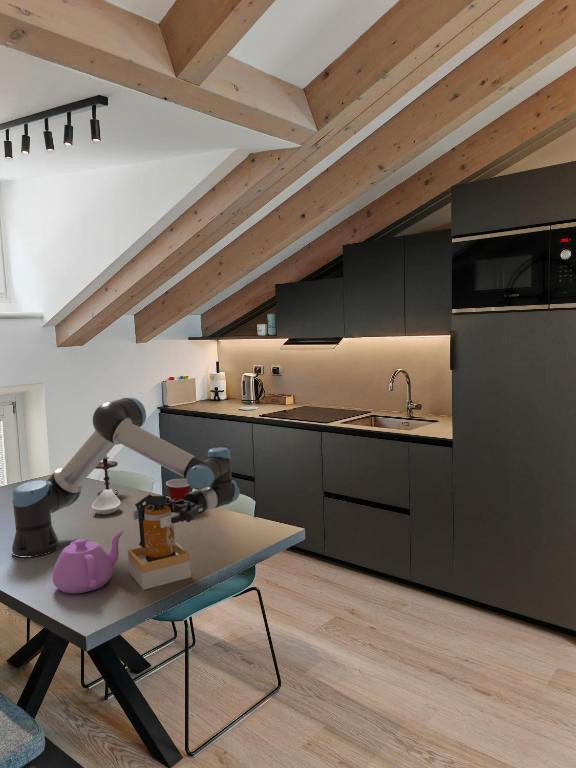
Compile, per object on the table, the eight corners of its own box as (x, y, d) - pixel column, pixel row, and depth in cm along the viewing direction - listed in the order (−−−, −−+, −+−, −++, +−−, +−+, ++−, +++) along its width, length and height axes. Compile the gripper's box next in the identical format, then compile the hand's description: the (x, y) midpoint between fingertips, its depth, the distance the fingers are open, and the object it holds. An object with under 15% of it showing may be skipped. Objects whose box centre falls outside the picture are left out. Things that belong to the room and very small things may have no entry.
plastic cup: (181, 515, 244) (179, 486, 243) (162, 511, 249) (160, 483, 248) (199, 507, 253) (197, 479, 252) (179, 504, 259) (178, 477, 257)
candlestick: (113, 489, 289) (107, 417, 286) (124, 493, 281) (118, 419, 278) (91, 494, 282) (85, 420, 278) (102, 498, 274) (96, 422, 270)
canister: (169, 565, 179) (164, 499, 177) (134, 564, 181) (129, 499, 179) (180, 553, 188) (175, 491, 186) (147, 553, 190) (142, 491, 188)
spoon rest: (120, 515, 248) (119, 498, 247) (91, 519, 245) (89, 501, 245) (122, 500, 271) (121, 484, 270) (95, 503, 268) (94, 487, 268)
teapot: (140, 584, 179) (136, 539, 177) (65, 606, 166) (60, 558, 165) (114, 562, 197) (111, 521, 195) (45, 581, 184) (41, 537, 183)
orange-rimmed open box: (143, 589, 175) (141, 564, 174) (129, 573, 187) (127, 549, 186) (190, 577, 182) (189, 553, 181) (174, 562, 194) (172, 539, 194)
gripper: (227, 519, 189) (174, 539, 173) (176, 506, 205) (123, 524, 189) (226, 495, 188) (172, 514, 172) (174, 485, 204) (121, 500, 188)
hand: (146, 519), depth 180 cm, fingers open, 13 cm apart
